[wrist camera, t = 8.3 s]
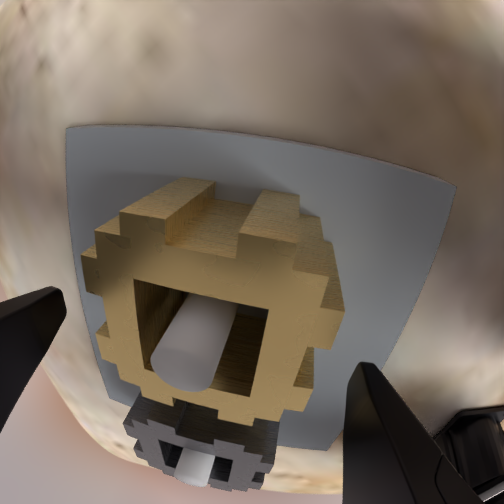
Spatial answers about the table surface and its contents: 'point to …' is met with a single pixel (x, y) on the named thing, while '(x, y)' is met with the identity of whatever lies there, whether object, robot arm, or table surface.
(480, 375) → the table surface
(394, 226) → the gear board
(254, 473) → the gear
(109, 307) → the gear
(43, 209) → the table surface
